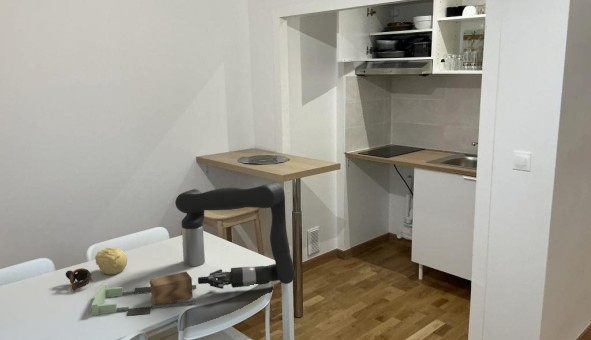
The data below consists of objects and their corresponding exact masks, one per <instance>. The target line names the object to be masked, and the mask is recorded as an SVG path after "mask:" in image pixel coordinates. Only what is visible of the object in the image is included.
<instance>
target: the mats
mask: <svg viewBox="0 0 591 340" xmlns="http://www.w3.org/2000/svg"><path fill="white" fill-rule="evenodd" d="M133 291H134V293H133V294H132V295H139V294H140V295H141V294H151V287H150V286H142V287H141V286H139V287H135V288H134V289H133ZM126 312H127V313H126V317H129V316H130V317H131V316H141V315H150V314H151V312H152V309H151V305H150V306H141V307H130V308H129V309H128V311H126Z"/></svg>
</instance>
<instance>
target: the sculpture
mask: <svg viewBox="0 0 591 340" xmlns="http://www.w3.org/2000/svg"><path fill="white" fill-rule="evenodd" d="M94 259H95V263H96V265H97V267H98V269H100V271H101V273H103V274H105V275H108V276H109V275H117V274H119V273H121V272H123V271H124V270H125V269H126V267H127V265H128V257H127V254H126V253H125V252H124V251H123V250H122V249H121V248H118V247H105V248H104V249H101V250H100V251H98V252H97V253H96V255H95V257H94Z"/></svg>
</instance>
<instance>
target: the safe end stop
mask: <svg viewBox="0 0 591 340" xmlns="http://www.w3.org/2000/svg"><path fill="white" fill-rule="evenodd" d="M122 292H123V286H117V287H116V286H115V287H107V284H103V285H100V287H99V288H98V290H97V292H96V295H95V296H94V298H93V301H92V303H91V311H92V316H99V315H101V314H110V313H118V312H117V310H116V309H117V308H118V307H117V305H118V304H117V302H111V303H110V302H109V303H105V300H106V299H107V298H109V297H119V296H121V297H122V296H123V295H122Z"/></svg>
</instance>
